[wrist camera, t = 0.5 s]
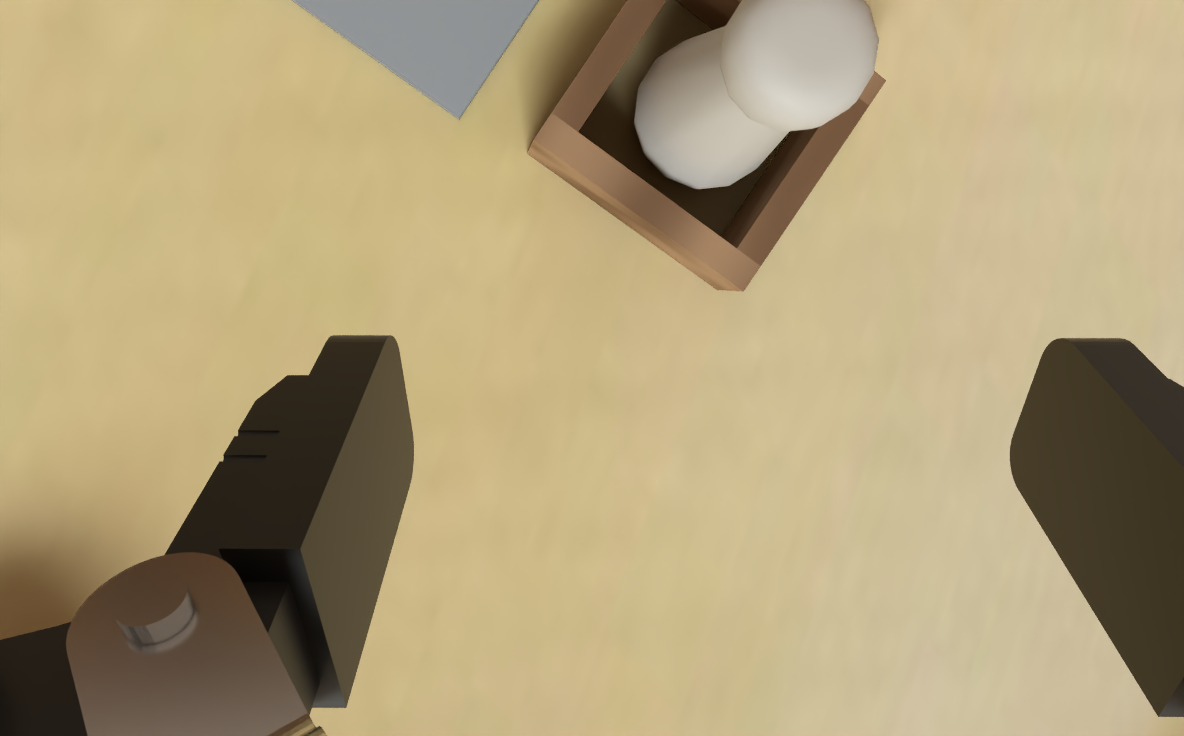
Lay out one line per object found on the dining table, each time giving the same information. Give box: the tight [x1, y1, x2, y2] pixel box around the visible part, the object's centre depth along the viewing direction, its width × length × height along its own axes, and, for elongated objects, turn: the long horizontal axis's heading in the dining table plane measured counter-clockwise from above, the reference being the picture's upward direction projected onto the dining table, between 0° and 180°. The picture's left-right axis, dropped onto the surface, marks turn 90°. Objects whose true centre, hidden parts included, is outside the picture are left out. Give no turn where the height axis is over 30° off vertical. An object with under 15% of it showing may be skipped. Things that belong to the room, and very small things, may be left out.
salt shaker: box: [634, 0, 879, 189], centre depth 28 cm, size 6×6×13 cm
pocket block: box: [527, 0, 886, 291], centre depth 33 cm, size 10×10×4 cm
